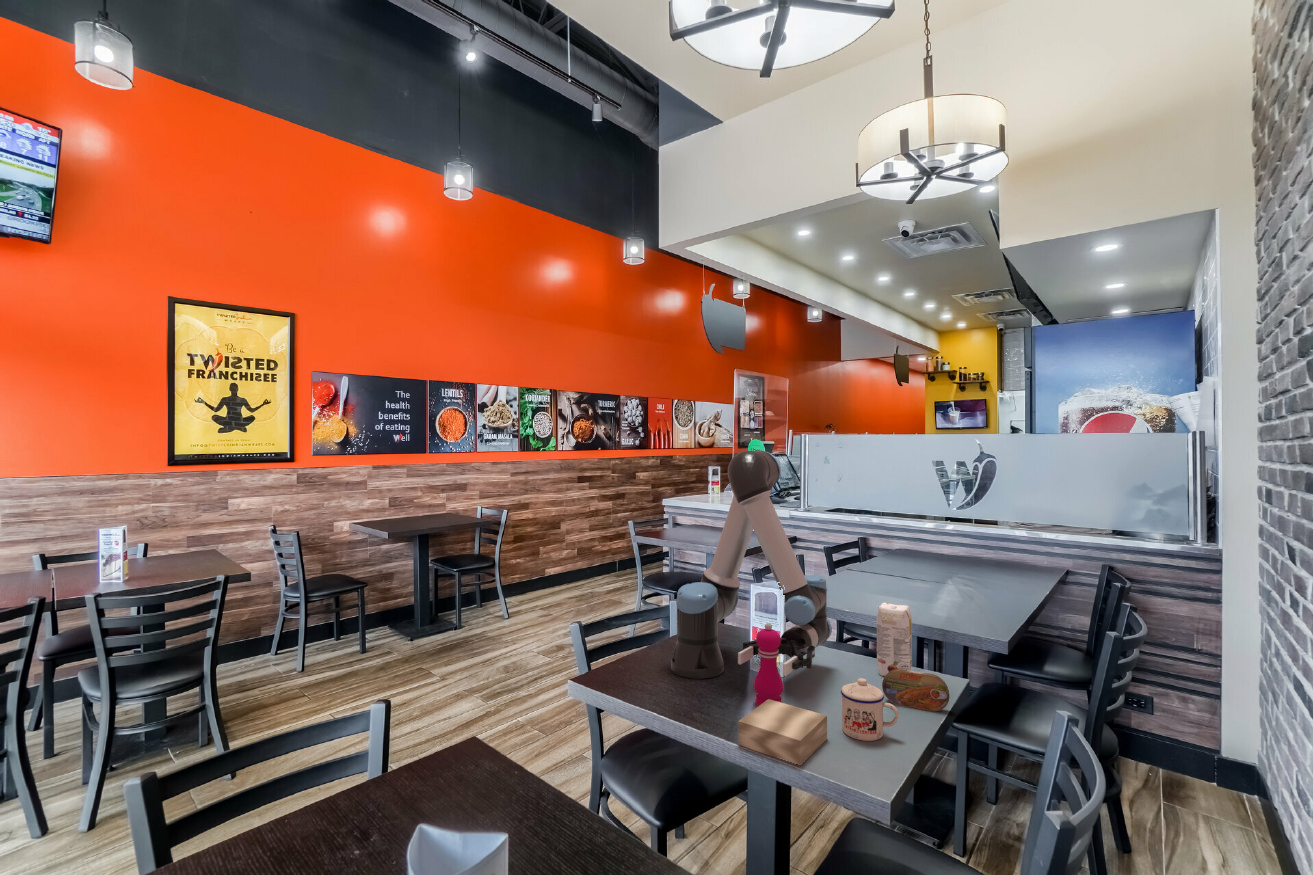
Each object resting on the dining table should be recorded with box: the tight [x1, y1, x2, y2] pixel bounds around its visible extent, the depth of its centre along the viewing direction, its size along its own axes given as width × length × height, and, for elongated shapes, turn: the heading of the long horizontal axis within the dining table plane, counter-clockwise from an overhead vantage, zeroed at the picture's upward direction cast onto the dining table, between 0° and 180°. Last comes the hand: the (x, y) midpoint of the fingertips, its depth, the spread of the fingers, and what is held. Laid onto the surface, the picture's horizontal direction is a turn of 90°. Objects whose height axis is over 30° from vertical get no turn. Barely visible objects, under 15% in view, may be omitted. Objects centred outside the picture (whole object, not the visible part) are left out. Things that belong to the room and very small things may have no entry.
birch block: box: [737, 699, 828, 766], centre depth 128 cm, size 14×14×5 cm
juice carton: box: [876, 602, 913, 677], centre depth 166 cm, size 8×9×19 cm
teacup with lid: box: [840, 677, 899, 742], centre depth 132 cm, size 12×9×12 cm
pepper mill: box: [753, 622, 785, 707], centre depth 147 cm, size 7×7×20 cm
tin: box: [881, 669, 950, 712], centre depth 146 cm, size 15×3×8 cm, turn 62°
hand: (761, 664), depth 144 cm, fingers open, 11 cm apart
